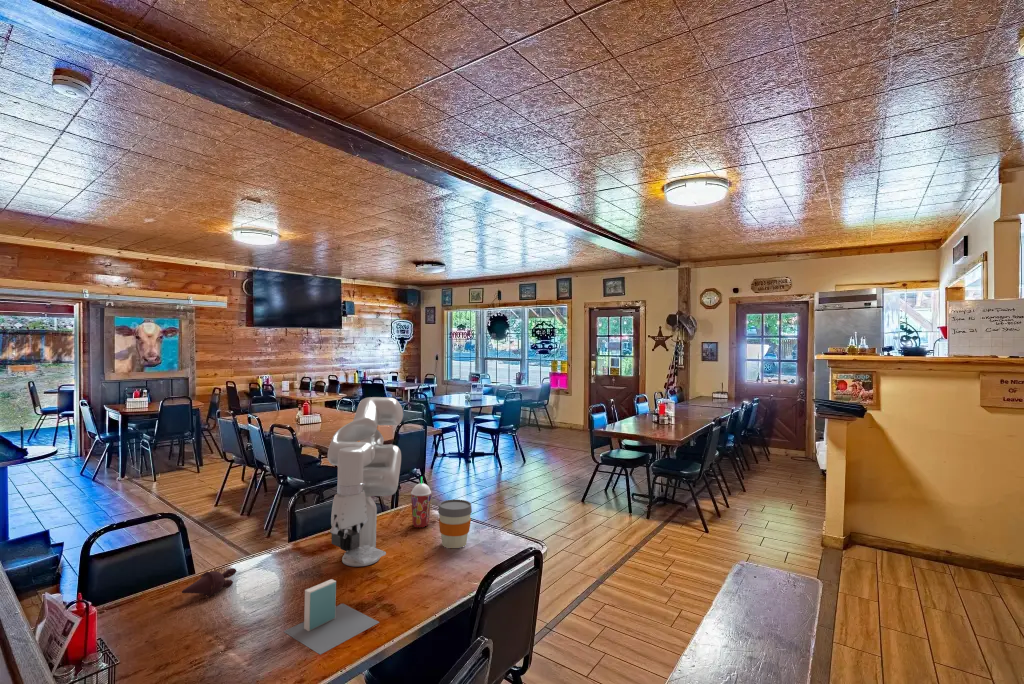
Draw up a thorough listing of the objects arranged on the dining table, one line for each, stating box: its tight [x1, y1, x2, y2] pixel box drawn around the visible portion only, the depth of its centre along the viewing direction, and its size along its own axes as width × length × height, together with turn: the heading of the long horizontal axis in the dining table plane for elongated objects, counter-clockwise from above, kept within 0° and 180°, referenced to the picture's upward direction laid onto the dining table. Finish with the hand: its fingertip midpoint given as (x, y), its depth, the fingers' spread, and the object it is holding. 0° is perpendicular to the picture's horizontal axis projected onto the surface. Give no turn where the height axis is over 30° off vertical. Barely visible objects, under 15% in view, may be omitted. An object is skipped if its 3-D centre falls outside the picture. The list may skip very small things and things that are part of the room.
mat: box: [282, 603, 380, 656], centre depth 135 cm, size 16×18×1 cm
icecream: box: [181, 567, 237, 598], centre depth 151 cm, size 7×7×15 cm
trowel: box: [331, 526, 387, 564], centre depth 156 cm, size 19×8×5 cm, turn 54°
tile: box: [303, 578, 337, 631], centre depth 136 cm, size 2×8×10 cm, turn 144°
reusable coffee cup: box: [437, 499, 473, 549], centre depth 193 cm, size 13×13×15 cm
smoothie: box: [410, 476, 432, 528], centre depth 211 cm, size 8×8×20 cm
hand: (349, 547), depth 157 cm, fingers closed on trowel, 2 cm apart
